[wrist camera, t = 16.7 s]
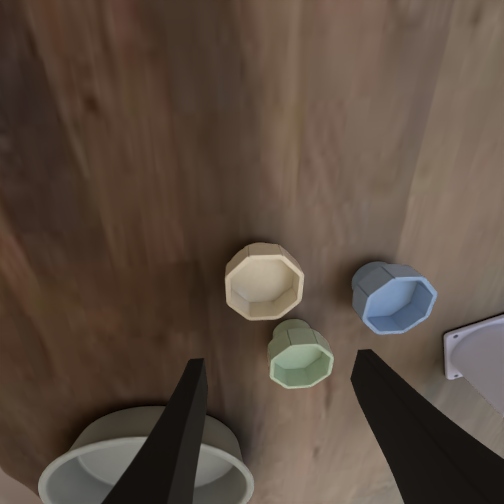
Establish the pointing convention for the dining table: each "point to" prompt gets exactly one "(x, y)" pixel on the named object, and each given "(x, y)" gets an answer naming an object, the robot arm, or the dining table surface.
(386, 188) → the dining table surface
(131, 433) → the cake pan
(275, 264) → the ivory bowl
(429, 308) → the blue bowl
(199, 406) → the robot arm
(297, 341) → the celadon bowl
